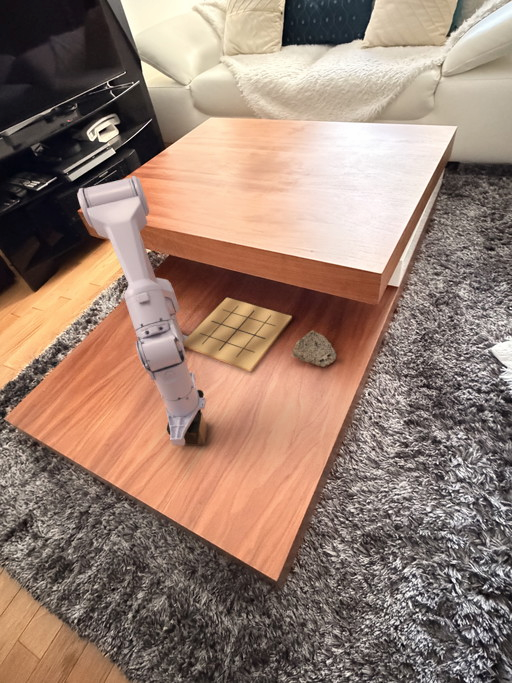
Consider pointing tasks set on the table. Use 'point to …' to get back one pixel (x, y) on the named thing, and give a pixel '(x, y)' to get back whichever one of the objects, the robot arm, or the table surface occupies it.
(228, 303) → the game board
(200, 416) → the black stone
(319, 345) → the rock sample
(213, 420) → the table surface
